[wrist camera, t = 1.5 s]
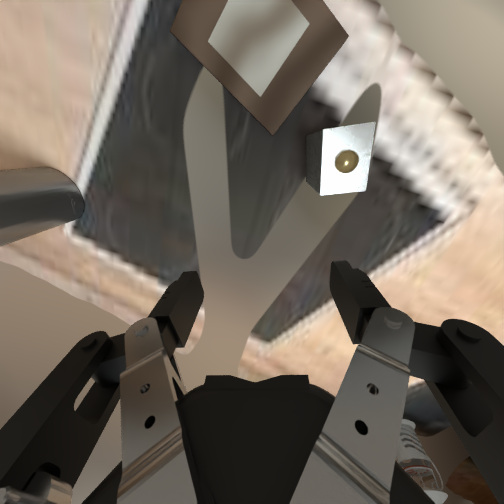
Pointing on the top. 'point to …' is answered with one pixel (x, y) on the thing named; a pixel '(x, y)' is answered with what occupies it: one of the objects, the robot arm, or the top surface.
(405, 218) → the top surface
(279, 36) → the mount plate
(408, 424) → the french press
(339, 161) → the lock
